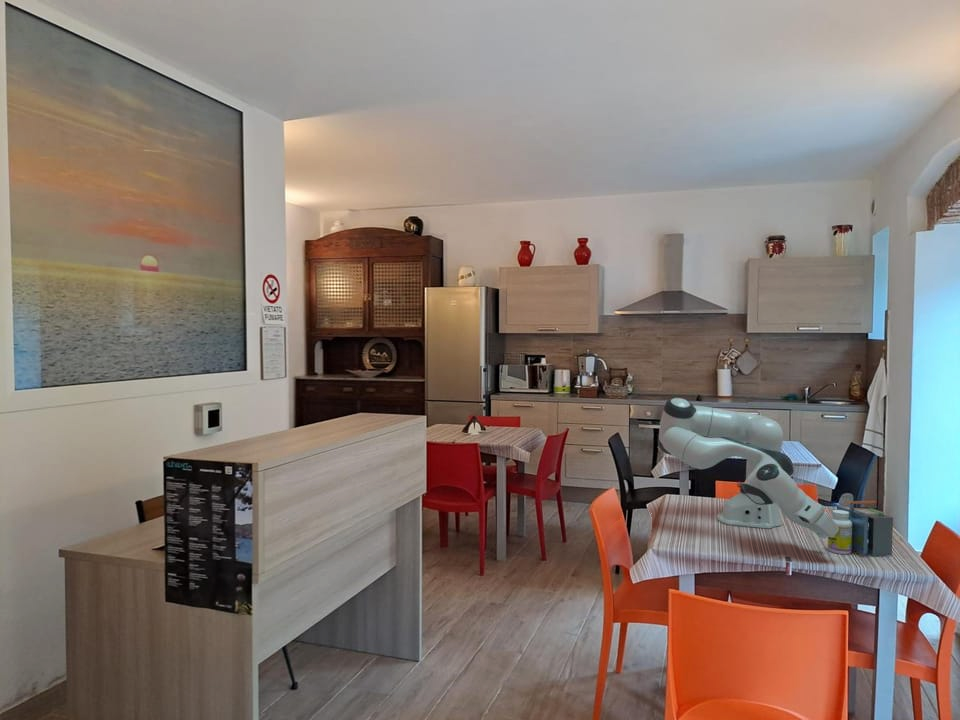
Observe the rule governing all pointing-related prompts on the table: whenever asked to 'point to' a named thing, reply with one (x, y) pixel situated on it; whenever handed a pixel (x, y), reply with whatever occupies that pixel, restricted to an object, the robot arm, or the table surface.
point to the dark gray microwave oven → (878, 532)
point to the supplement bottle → (841, 533)
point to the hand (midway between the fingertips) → (823, 535)
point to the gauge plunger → (858, 526)
